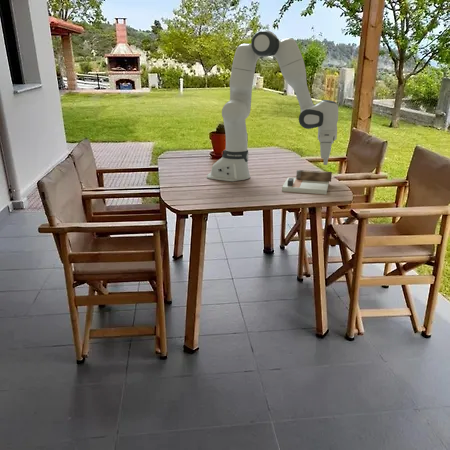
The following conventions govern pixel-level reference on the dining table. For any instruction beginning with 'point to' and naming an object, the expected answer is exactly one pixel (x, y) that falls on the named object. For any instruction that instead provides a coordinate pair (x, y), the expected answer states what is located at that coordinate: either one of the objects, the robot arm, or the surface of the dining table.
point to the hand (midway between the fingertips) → (325, 164)
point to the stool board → (305, 186)
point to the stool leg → (313, 175)
